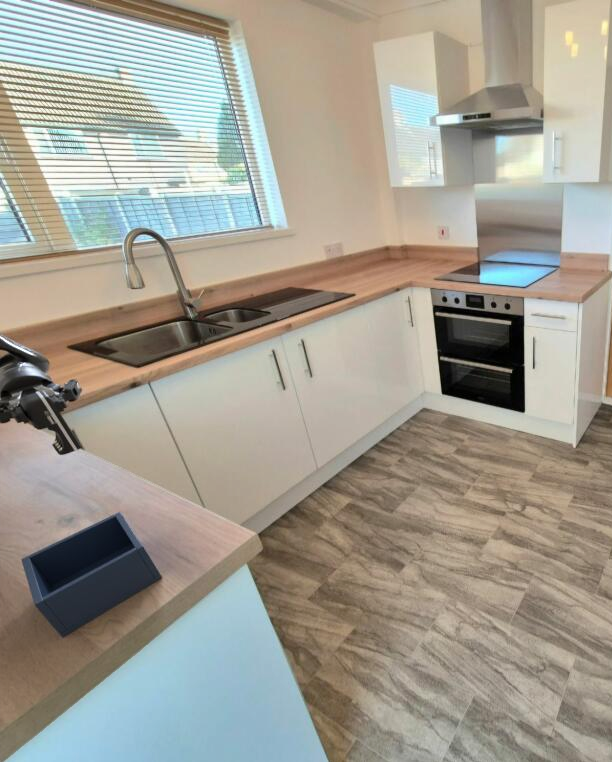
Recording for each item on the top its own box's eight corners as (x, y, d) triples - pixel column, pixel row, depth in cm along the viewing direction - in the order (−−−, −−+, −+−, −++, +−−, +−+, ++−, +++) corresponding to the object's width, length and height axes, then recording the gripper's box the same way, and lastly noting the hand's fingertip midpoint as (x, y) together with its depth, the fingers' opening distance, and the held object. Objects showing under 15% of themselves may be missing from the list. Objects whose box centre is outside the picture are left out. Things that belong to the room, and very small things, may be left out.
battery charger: (48, 448, 81) (12, 396, 76) (74, 438, 84) (41, 387, 79) (56, 460, 78) (19, 406, 72) (83, 449, 80) (50, 396, 75)
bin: (62, 637, 58) (34, 605, 55) (46, 590, 65) (20, 559, 62) (162, 577, 66) (143, 546, 63) (138, 541, 73) (120, 511, 70)
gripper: (83, 390, 91) (103, 413, 82) (-15, 420, 82) (-4, 450, 72) (64, 358, 88) (83, 378, 78) (-39, 385, 78) (-32, 412, 69)
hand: (41, 412), depth 75 cm, fingers closed on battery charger, 4 cm apart
